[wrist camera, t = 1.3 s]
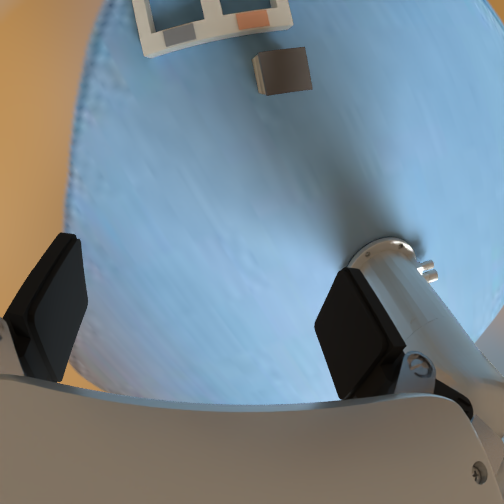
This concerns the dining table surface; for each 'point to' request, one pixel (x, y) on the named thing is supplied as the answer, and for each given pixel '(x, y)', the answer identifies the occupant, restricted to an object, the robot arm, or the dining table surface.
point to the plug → (282, 71)
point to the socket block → (208, 26)
